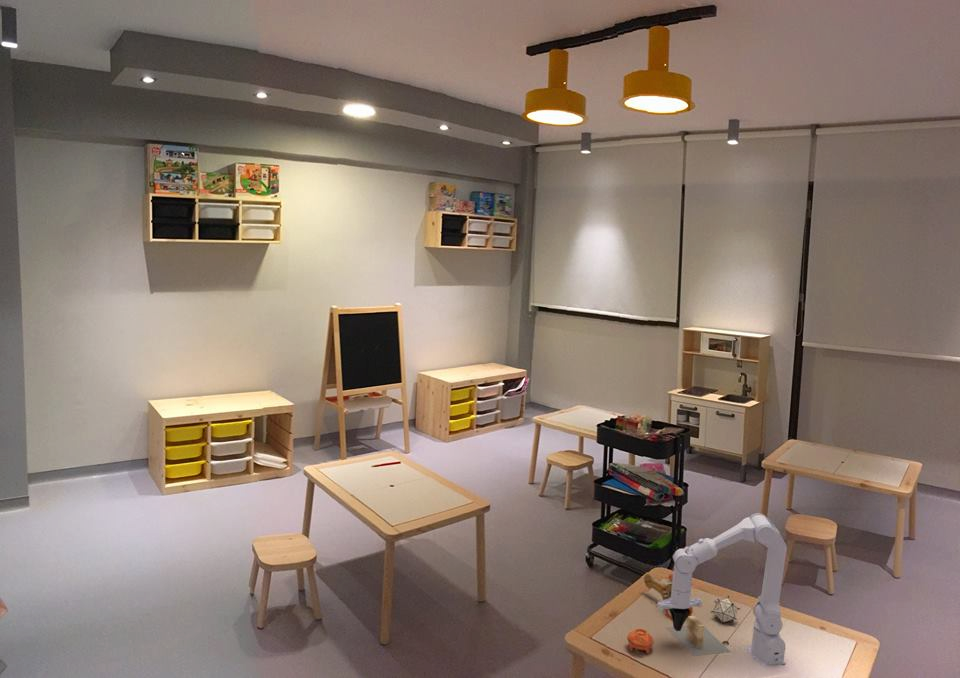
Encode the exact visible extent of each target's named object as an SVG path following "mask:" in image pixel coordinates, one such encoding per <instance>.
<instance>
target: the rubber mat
mask: <svg viewBox="0 0 960 678" xmlns="http://www.w3.org/2000/svg"><path fill="white" fill-rule="evenodd" d="M666 629H667V631H669V632H670V633H671V634H672V636H673V637H675V639H677V640H678V642H680V644H681V645H683V647H684V648H685V649H686V650H687V651H688V652H689V653H690V654H691V655H692V656H693V657H698V656H707V655H716V654H722V653H731V650H730V649H729V648H728V647H727V646H726V645H725V644H724V643H722V642H721V641H720V640H719V639H718V638H717V637H716V636H715V635H713V634H712V633H711V632H710V631H709V630H708V629H707V628H706V627H705V626H704V635H703V645H702V647H696V646H695V645H694V644H693V643H692V642H691V641H690V640H689V639H688V638H687V637H686V633H687V625H683V626H682V628H681V631H676V630H675V629H674V626H670V627H666Z"/></svg>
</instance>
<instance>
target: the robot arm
mask: <svg viewBox="0 0 960 678" xmlns="http://www.w3.org/2000/svg"><path fill="white" fill-rule="evenodd" d="M755 539H756V541H757V542H759V544H761V545H762V546H765V547H766V548H767V552H766V553H767V554H766V559H765V566H764V574H763V581H762V587H761V593H760V595H759V596H758V597H757V601H756V603H755V604H754V606H753V609H752V613H753V615H754V617H755V621H754V623H753V628H752V629H753V630H752V638H751V646H748V647H744V650H746V651H747V652H748V653H749V654H750V655H751V656H752V657H753V658H755V659H756V660H757V661H758V662H759V663H760V664H761V665H762V666H764V667H765V666H766V667H767V666H773V665H786V663H787V662H786V661H785V660H784V659H785V652H786V642H785V640H784V639H783V638H782V637H781V635H780V632H781V631H782V630H783V627H784V626H783V622H782V618H781V617H782V612H781V605H780V597H781V591H782V584H783V577H784V570H785V565H786V557H787V552H788V547H787V545H786V542H785V541H784V538H783V537H782V535H781V533H780V531H779V530H778V529H777V527H776V526H775V525H774V523H773V522H772V520H770V519H769V518H768V517H767V516H766V515H765V514H763V513H758V512H757V513H753V514H751V515H750V516H748V517H745V518H744V519H742V520H741V521H740V522H739V523H738V524H736V525H733V527H731V528H729V529H728V530H726V531H724V532H723V533H720V534H719V535H717V536H716V537H713V538H708V537H705V538H700V539H698V541H697V542H695V543H693V544H692V545H689V546H685V547H684V548H678V549H677V550H675V552H674V553H673V555H672V560H673V562H674V564H673V565H674V566H673V572H672V574H673V580H672V582H671V584H672V590H671V598H669V599H667V600H664V601H663V600H661V601H657V605H656V608H657V609H658V611H660V612H662V611H664V610H665V609H669V610H670V613H671V616H672V619H671V620H672V625H673V626H672V627H674V629H675V630H676V631H681V628H682V626H684V623H685V622H686V620H687V619H688V616H689V615H690V610H689V609H688V608H690V607H692V608H693V607H698V608H702V606H703V601H702V599H700V598H699V597H695V598H693V597H691V595H692V594H691V593H692V582H693V581H692V580H693V573H694V571H695V570H696V568H697V566H698V565H700V564H703V563H704V562H706V561H708V560H710V559H712V558H714V557H716V556H717V555H718V551H719V550H721V549H723V548H725V547H728V546H730V545H732V544H735V543H737V542H739V541H742V540H745V541H748V542H751V543H755V542H756V541H755ZM690 616H691V615H690Z"/></svg>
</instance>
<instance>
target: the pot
mask: <svg viewBox="0 0 960 678" xmlns="http://www.w3.org/2000/svg"><path fill="white" fill-rule="evenodd" d="M626 638H627V642H628V645H629V646H628V647H629V650H630V651H632V650H633V649H636V650H638V651H639V650H640V651H645V652H646V653H647V654H650V651H651V647H652V646H653V645H654V644H655V641H654V638H653V636H652V635H651V634H650V633H649V632H648V631H647V630H646V629H643V628H636V629H634V630H632V631H630V632H629V633H628V635H627V637H626Z"/></svg>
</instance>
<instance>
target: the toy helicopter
mask: <svg viewBox="0 0 960 678" xmlns="http://www.w3.org/2000/svg"><path fill="white" fill-rule="evenodd" d="M665 579H666V580H667V583H668V584H665V583H663V582H661V581H659V580H658V579H657V578H656V575H654V574H653V573H648V574H645V575H644V578H643V582H644V585H645V587H646V588H648V589H653V590H655V591H656V592H657V593H659V594H660V595H661V598H662V601H664V600H667V599H669V598H671V590H672V580H673V573H670V574H669V575H668V576H666V577H665ZM688 609H689V610H690V615H689V616H692V614H693V607H690V608H688ZM664 610H665V611H664V613H665V615H666V617H668V618H669V619H670V620H672V616H671V613H670V610H669V609H664Z"/></svg>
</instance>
